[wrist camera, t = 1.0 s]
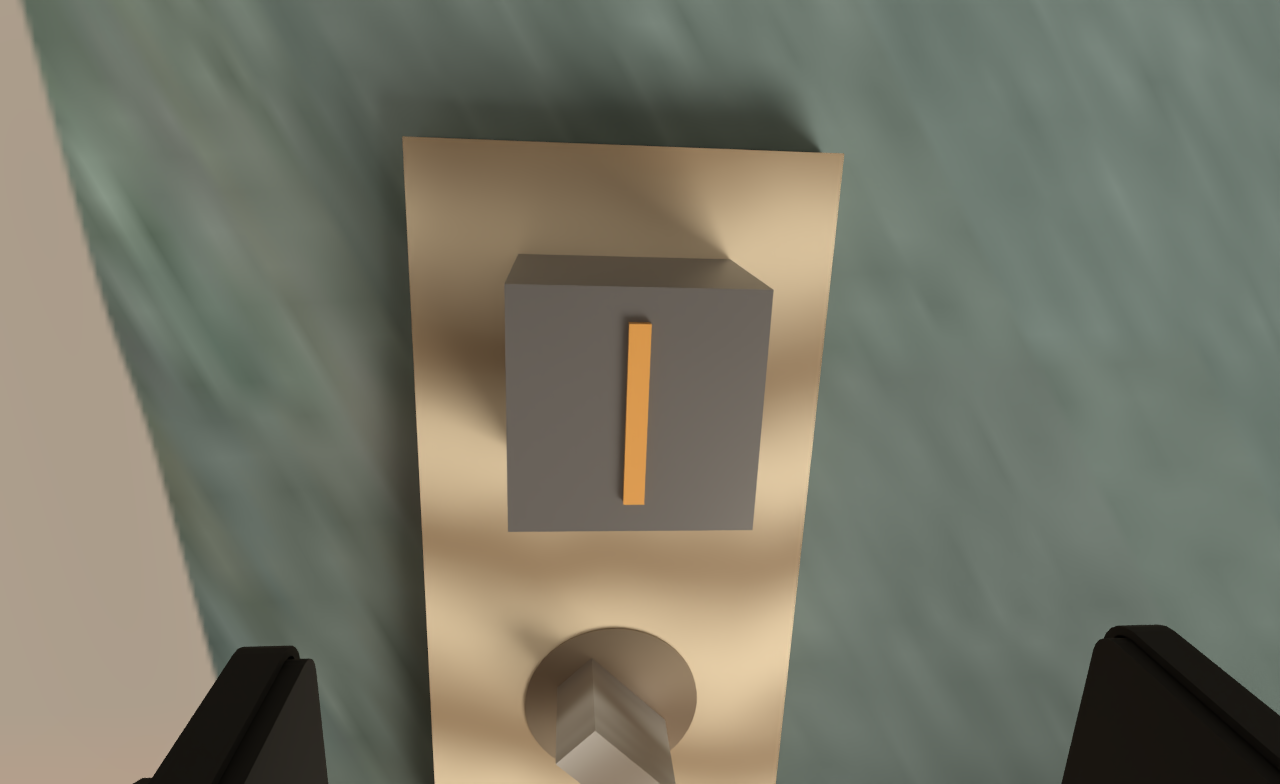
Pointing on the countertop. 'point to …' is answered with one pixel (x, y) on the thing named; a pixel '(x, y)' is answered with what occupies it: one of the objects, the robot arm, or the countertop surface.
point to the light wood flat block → (606, 560)
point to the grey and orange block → (633, 393)
